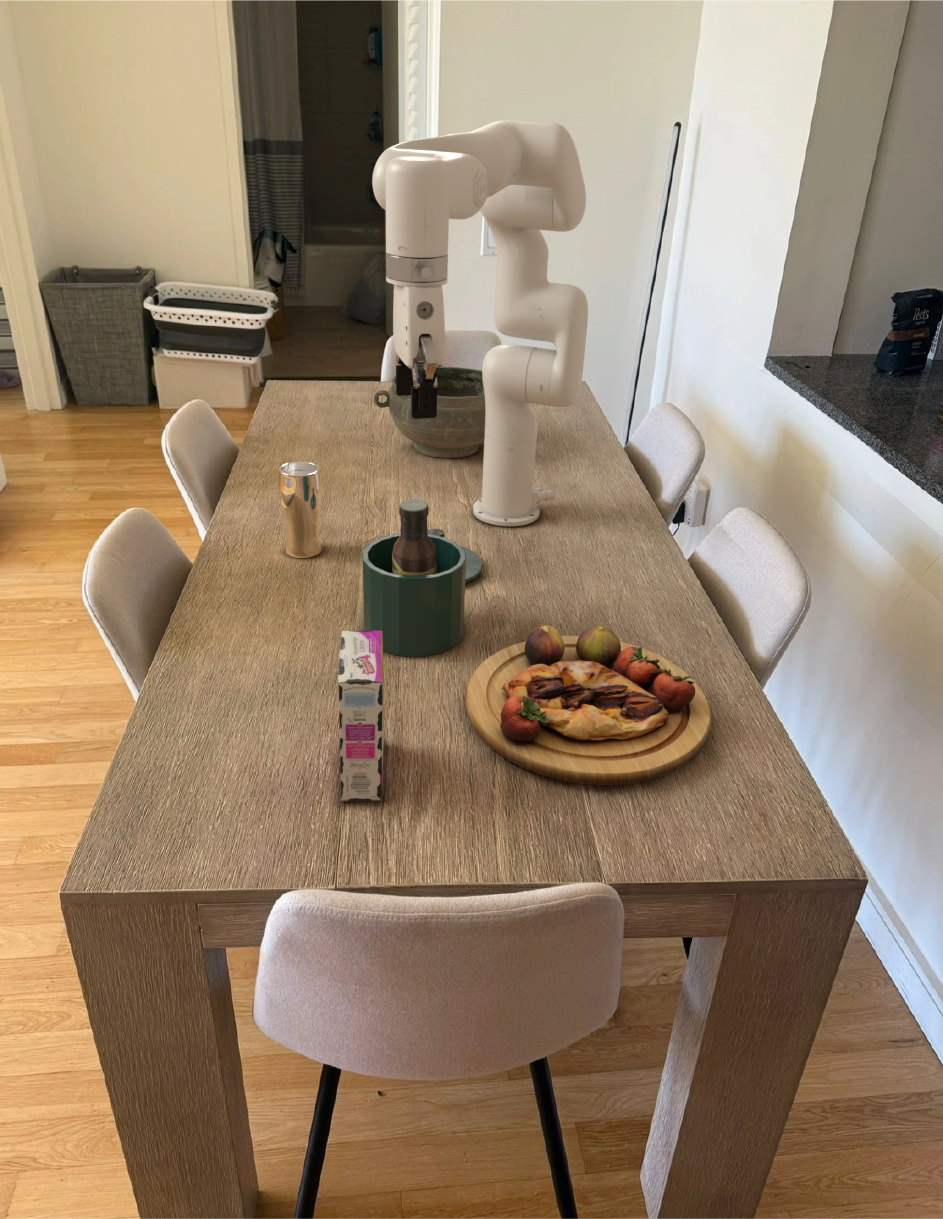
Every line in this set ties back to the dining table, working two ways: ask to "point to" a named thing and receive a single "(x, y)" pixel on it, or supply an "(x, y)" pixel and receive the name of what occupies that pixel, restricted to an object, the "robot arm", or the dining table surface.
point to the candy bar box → (361, 715)
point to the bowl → (444, 414)
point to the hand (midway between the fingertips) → (415, 405)
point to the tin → (414, 599)
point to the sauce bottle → (414, 541)
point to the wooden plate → (587, 708)
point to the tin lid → (471, 558)
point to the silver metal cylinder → (301, 507)
